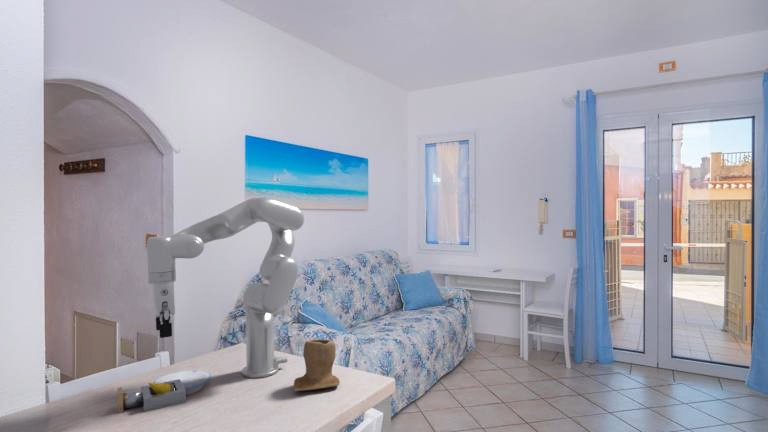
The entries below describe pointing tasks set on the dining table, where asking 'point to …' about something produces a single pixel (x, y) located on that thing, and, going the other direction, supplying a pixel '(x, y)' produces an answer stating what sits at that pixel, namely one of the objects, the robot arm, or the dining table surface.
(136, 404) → the fitting
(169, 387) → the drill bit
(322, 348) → the brown hollow boot figurine
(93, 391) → the dining table surface
